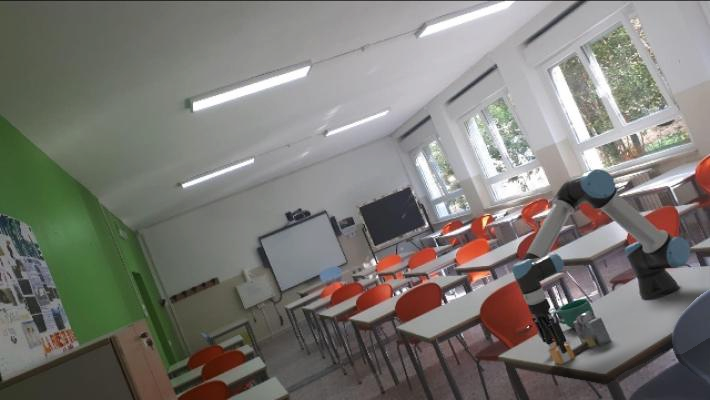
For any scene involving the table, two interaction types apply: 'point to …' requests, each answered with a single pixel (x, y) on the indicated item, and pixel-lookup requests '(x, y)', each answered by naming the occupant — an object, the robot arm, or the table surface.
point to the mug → (573, 311)
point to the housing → (591, 328)
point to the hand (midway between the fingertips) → (563, 360)
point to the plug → (571, 350)
